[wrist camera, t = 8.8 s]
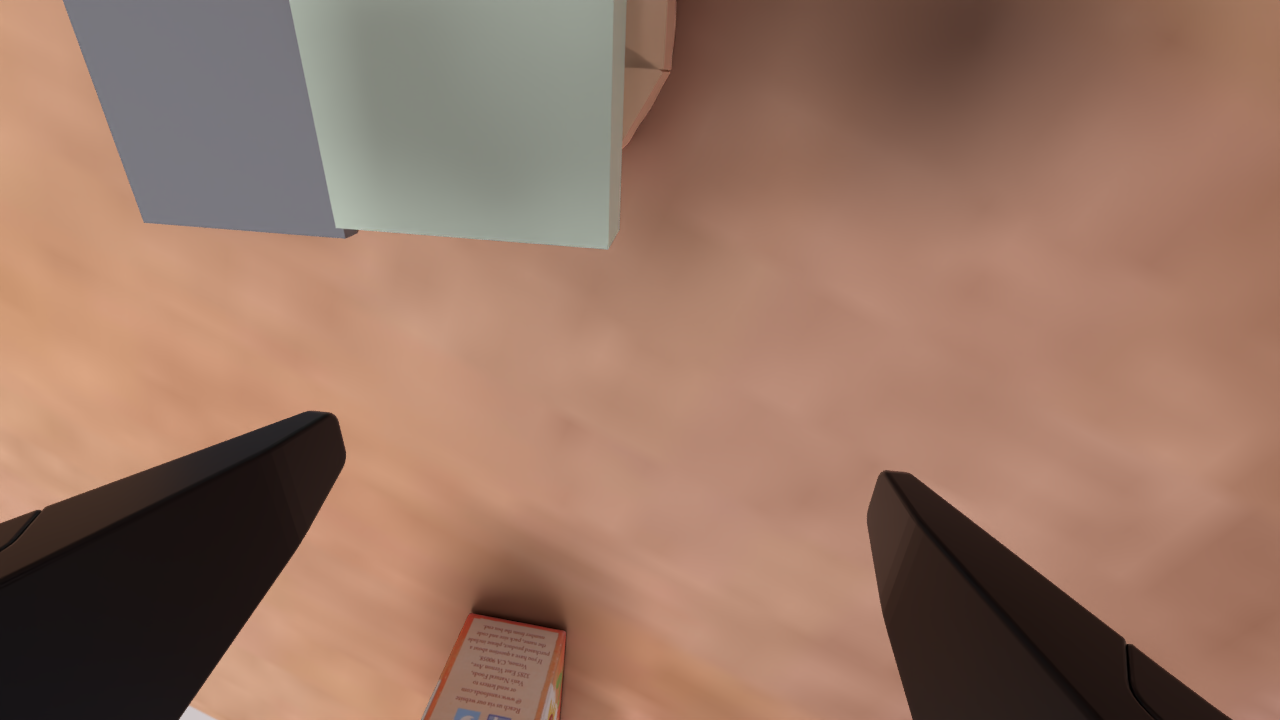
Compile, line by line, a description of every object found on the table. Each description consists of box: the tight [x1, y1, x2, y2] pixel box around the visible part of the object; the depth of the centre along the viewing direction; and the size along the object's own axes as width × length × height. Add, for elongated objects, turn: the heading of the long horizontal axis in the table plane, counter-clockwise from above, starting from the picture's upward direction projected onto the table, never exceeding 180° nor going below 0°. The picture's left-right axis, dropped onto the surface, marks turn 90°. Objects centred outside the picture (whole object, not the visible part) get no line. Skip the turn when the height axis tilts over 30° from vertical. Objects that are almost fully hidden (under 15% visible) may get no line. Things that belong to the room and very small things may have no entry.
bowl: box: [622, 0, 676, 149], centre depth 15 cm, size 9×9×4 cm
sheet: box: [289, 0, 627, 249], centre depth 13 cm, size 7×10×2 cm
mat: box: [63, 0, 357, 239], centre depth 19 cm, size 8×12×1 cm
